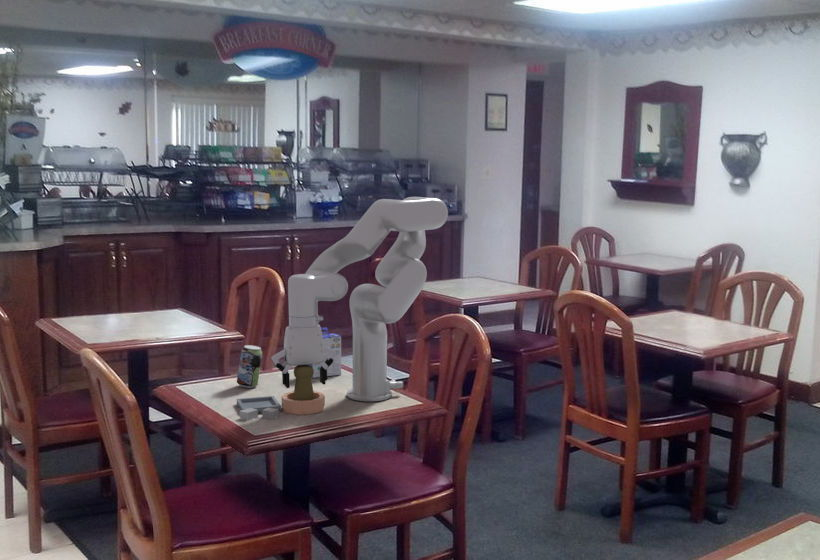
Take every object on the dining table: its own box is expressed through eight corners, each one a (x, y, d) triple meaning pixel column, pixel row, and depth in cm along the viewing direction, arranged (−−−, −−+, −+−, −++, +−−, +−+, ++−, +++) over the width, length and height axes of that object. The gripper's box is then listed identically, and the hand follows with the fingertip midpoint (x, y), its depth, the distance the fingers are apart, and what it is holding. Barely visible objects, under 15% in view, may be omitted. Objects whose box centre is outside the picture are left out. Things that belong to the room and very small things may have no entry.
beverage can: (234, 385, 252) (234, 344, 251) (259, 382, 255) (258, 342, 254) (239, 390, 247) (239, 349, 245) (265, 388, 250) (264, 347, 248)
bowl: (318, 401, 237) (318, 389, 236) (328, 412, 226) (328, 399, 226) (278, 404, 233) (278, 392, 232) (287, 416, 223) (287, 403, 222)
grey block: (278, 416, 223) (278, 409, 223) (272, 419, 221) (272, 411, 221) (268, 415, 225) (268, 407, 224) (262, 417, 222) (262, 410, 222)
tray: (273, 401, 236) (273, 395, 236) (281, 411, 227) (281, 405, 227) (236, 404, 233) (236, 398, 233) (242, 414, 224) (242, 409, 223)
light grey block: (249, 415, 223) (249, 407, 223) (257, 417, 222) (257, 409, 222) (239, 419, 221) (239, 411, 220) (247, 421, 219) (247, 412, 219)
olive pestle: (306, 410, 226) (306, 369, 224) (287, 406, 228) (287, 366, 227) (319, 404, 231) (319, 364, 229) (301, 401, 234) (301, 361, 232)
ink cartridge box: (335, 371, 270) (335, 325, 268) (342, 375, 266) (342, 328, 264) (305, 374, 266) (305, 328, 264) (312, 378, 261) (312, 331, 259)
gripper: (331, 316, 233) (332, 378, 236) (267, 321, 227) (269, 384, 230) (339, 321, 226) (340, 385, 229) (273, 327, 220) (275, 392, 223)
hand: (305, 385), depth 229 cm, fingers open, 9 cm apart
